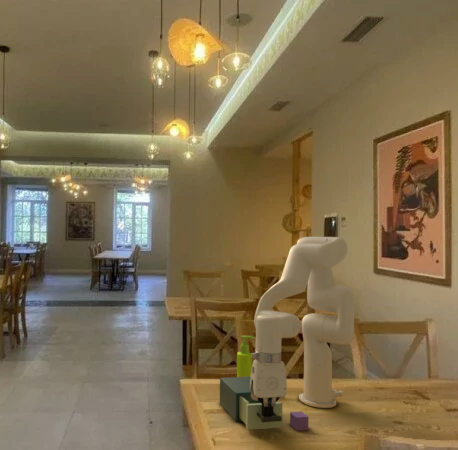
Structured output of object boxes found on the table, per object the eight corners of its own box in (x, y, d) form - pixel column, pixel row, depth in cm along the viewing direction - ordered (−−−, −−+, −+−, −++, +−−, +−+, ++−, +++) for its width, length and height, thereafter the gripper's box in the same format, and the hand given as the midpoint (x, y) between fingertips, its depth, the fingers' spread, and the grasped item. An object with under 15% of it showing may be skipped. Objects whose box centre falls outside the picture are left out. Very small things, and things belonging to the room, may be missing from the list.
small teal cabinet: (272, 419, 134) (272, 391, 135) (235, 421, 132) (236, 393, 132) (252, 401, 149) (253, 376, 149) (219, 403, 146) (220, 377, 146)
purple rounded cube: (301, 424, 131) (301, 411, 131) (308, 429, 127) (308, 416, 128) (289, 425, 130) (290, 412, 131) (296, 430, 127) (296, 417, 127)
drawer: (290, 434, 122) (290, 409, 122) (254, 437, 120) (254, 411, 120) (262, 409, 140) (262, 387, 140) (230, 411, 138) (230, 389, 138)
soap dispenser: (254, 390, 160) (255, 338, 161) (236, 388, 162) (237, 337, 162) (254, 385, 166) (254, 334, 167) (236, 383, 167) (237, 333, 168)
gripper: (250, 361, 120) (249, 425, 119) (297, 359, 122) (296, 422, 122) (240, 354, 127) (239, 414, 126) (284, 352, 130) (284, 412, 129)
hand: (267, 418), depth 124 cm, fingers closed
